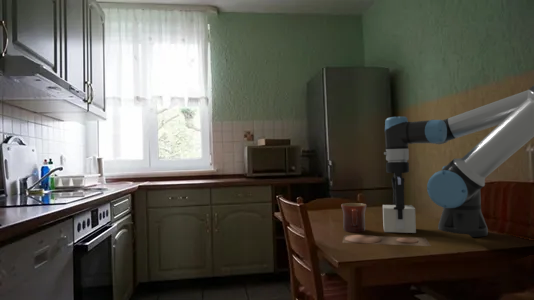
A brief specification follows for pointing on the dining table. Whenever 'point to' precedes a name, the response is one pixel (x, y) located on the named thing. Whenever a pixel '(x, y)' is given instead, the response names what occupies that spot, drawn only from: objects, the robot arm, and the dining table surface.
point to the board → (385, 240)
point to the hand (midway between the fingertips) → (399, 226)
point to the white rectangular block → (390, 219)
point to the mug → (354, 217)
